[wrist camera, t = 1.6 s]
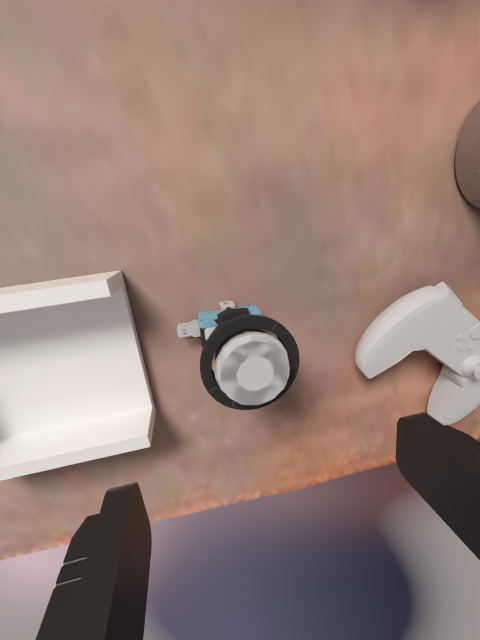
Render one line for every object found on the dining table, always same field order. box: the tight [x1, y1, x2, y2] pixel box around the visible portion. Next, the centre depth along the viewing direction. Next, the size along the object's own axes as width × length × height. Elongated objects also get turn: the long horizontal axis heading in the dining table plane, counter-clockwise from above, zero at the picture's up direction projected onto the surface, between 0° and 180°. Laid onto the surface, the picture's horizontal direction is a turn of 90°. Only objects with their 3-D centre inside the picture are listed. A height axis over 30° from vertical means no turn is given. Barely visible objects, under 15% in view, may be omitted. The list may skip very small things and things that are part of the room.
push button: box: [177, 301, 299, 410], centre depth 19 cm, size 7×5×10 cm
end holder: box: [0, 270, 156, 481], centre depth 21 cm, size 13×12×4 cm
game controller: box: [355, 282, 480, 425], centre depth 27 cm, size 14×4×10 cm
